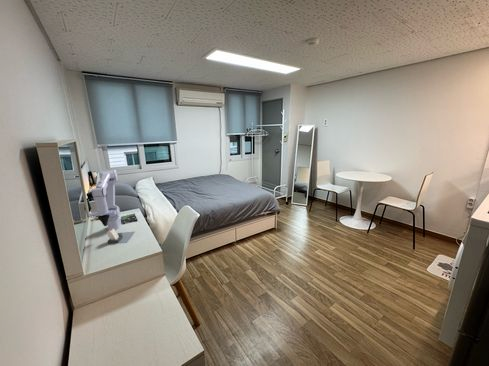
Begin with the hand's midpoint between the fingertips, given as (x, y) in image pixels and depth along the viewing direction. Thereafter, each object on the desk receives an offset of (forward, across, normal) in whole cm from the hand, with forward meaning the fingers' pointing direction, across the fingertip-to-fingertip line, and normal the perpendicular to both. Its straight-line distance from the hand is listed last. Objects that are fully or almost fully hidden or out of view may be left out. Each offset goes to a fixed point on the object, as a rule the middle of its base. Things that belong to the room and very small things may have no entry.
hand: (105, 225), depth 137 cm
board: (+10, +9, -1) cm, 14 cm away
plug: (+9, +6, -4) cm, 12 cm away
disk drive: (+11, +3, +29) cm, 31 cm away
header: (+9, +6, -4) cm, 12 cm away
